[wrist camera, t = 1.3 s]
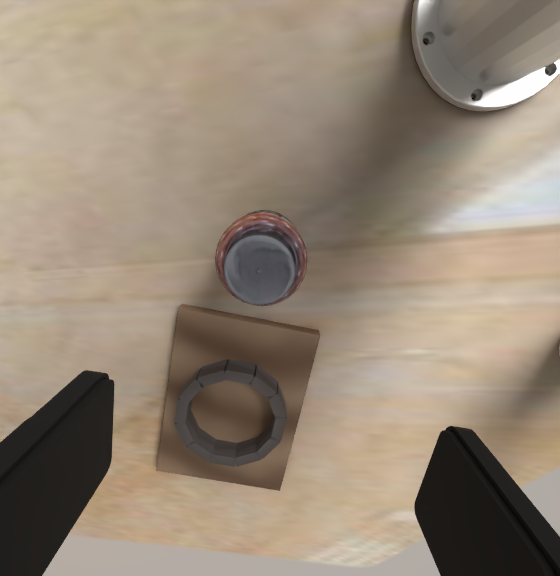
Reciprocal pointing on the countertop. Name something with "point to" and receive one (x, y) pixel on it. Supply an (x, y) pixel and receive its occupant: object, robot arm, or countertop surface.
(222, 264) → the supplement bottle
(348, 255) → the countertop surface
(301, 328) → the bottle holder
